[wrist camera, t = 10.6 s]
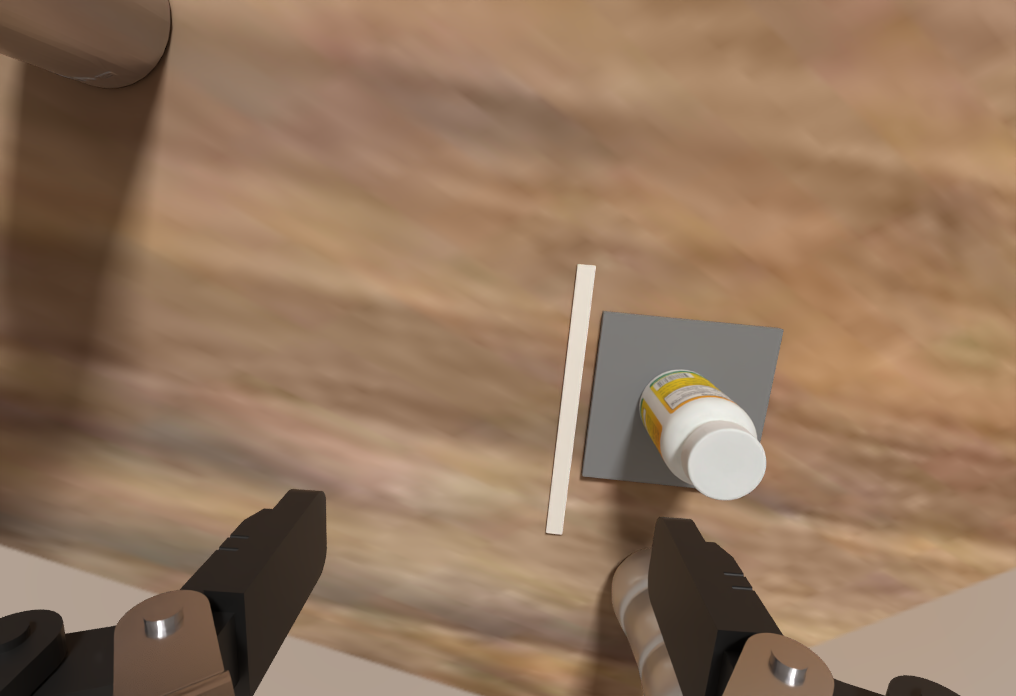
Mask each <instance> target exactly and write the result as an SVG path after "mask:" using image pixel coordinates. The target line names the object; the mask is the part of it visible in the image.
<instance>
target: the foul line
mask: <svg viewBox="0 0 1016 696" xmlns="http://www.w3.org/2000/svg"><path fill="white" fill-rule="evenodd" d="M595 269H596V266H593V265H582V264H578V265H577V273H576V282H575V290H574V299H573V307H572V315H571V324H570V332H569V341H568V349H567V357H566V366H565V374H564V383H563V391H562V400H561V408H560V416H559V425H558V433H557V442H556V450H555V459H554V467H553V475H552V484H551V492H550V501H549V509H548V518H547V526H546V533H552V534H561V535H562V531H563V523H564V515H565V507H566V499H567V491H568V483H569V475H570V467H571V459H572V451H573V444H574V436H575V428H576V420H577V412H578V404H579V396H580V388H581V380H582V372H583V364H584V356H585V348H586V341H587V333H588V325H589V317H590V309H591V301H592V293H593V285H594V277H595Z"/></svg>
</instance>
